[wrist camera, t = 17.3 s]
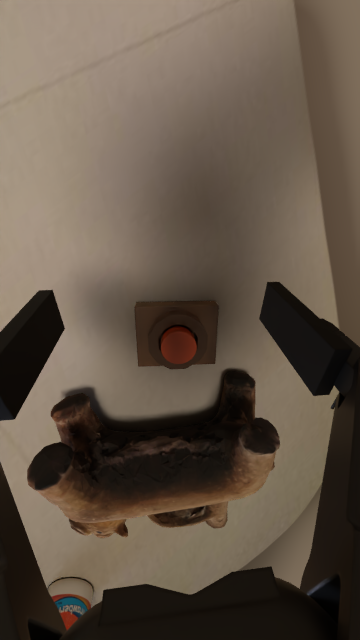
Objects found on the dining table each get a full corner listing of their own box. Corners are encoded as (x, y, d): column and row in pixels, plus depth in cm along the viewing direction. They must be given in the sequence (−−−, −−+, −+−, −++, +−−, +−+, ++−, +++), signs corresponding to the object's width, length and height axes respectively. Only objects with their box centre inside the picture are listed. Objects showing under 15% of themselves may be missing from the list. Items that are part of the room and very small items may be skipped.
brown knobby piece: (-28, 511, 20) (65, 609, 31) (314, 433, 23) (284, 548, 34) (32, 397, 31) (83, 500, 42) (254, 357, 34) (247, 462, 46)
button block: (214, 300, 30) (222, 309, 26) (211, 356, 33) (218, 371, 29) (136, 301, 30) (132, 311, 26) (139, 358, 32) (136, 374, 28)
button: (195, 325, 27) (197, 331, 26) (194, 356, 29) (196, 363, 27) (160, 326, 27) (160, 332, 25) (161, 357, 28) (161, 364, 27)
